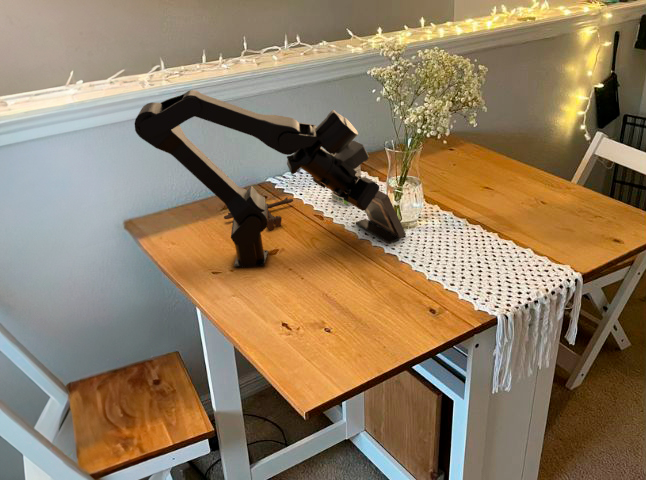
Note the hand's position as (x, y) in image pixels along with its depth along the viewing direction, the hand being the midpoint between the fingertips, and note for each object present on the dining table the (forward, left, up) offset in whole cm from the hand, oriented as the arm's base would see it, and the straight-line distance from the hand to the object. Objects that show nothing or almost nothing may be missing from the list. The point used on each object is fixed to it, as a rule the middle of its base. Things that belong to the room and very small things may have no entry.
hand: (368, 201), depth 150 cm
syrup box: (+21, +6, -9) cm, 23 cm away
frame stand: (+1, -1, -9) cm, 9 cm away
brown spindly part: (+12, +26, -9) cm, 30 cm away
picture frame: (+3, -4, -8) cm, 10 cm away
